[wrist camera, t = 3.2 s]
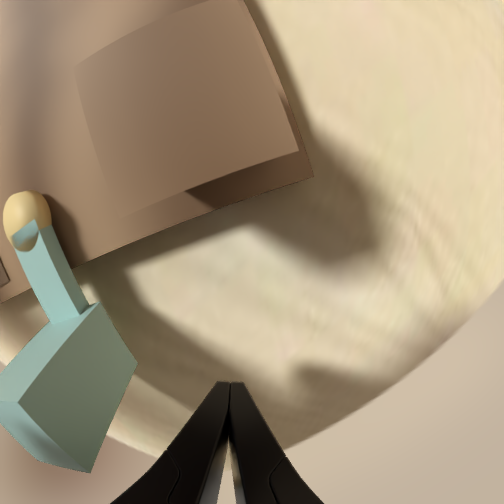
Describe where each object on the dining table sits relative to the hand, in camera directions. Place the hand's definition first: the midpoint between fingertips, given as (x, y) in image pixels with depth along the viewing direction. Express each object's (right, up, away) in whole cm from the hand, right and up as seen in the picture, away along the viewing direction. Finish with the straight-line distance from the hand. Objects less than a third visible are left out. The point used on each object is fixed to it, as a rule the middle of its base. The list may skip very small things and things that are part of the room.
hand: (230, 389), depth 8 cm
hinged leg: (-7, +3, +1) cm, 7 cm away
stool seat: (-9, +12, -1) cm, 15 cm away
